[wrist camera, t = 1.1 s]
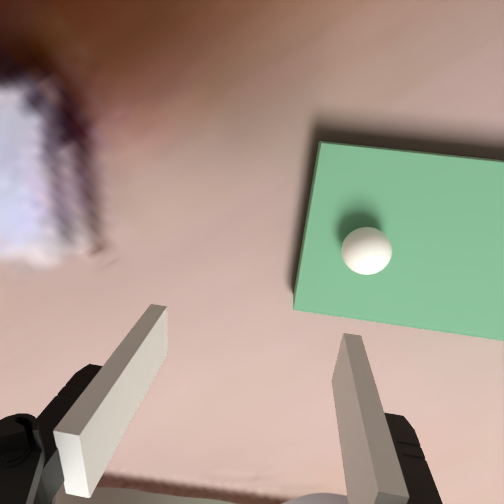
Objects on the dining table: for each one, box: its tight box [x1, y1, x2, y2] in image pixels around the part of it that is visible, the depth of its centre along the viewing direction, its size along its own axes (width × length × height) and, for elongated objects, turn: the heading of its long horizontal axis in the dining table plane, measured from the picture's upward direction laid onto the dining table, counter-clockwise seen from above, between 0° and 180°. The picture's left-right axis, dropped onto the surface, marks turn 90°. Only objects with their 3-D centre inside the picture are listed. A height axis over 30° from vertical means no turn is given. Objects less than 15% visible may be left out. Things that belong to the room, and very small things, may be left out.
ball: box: [341, 227, 392, 275], centre depth 27 cm, size 4×4×4 cm
